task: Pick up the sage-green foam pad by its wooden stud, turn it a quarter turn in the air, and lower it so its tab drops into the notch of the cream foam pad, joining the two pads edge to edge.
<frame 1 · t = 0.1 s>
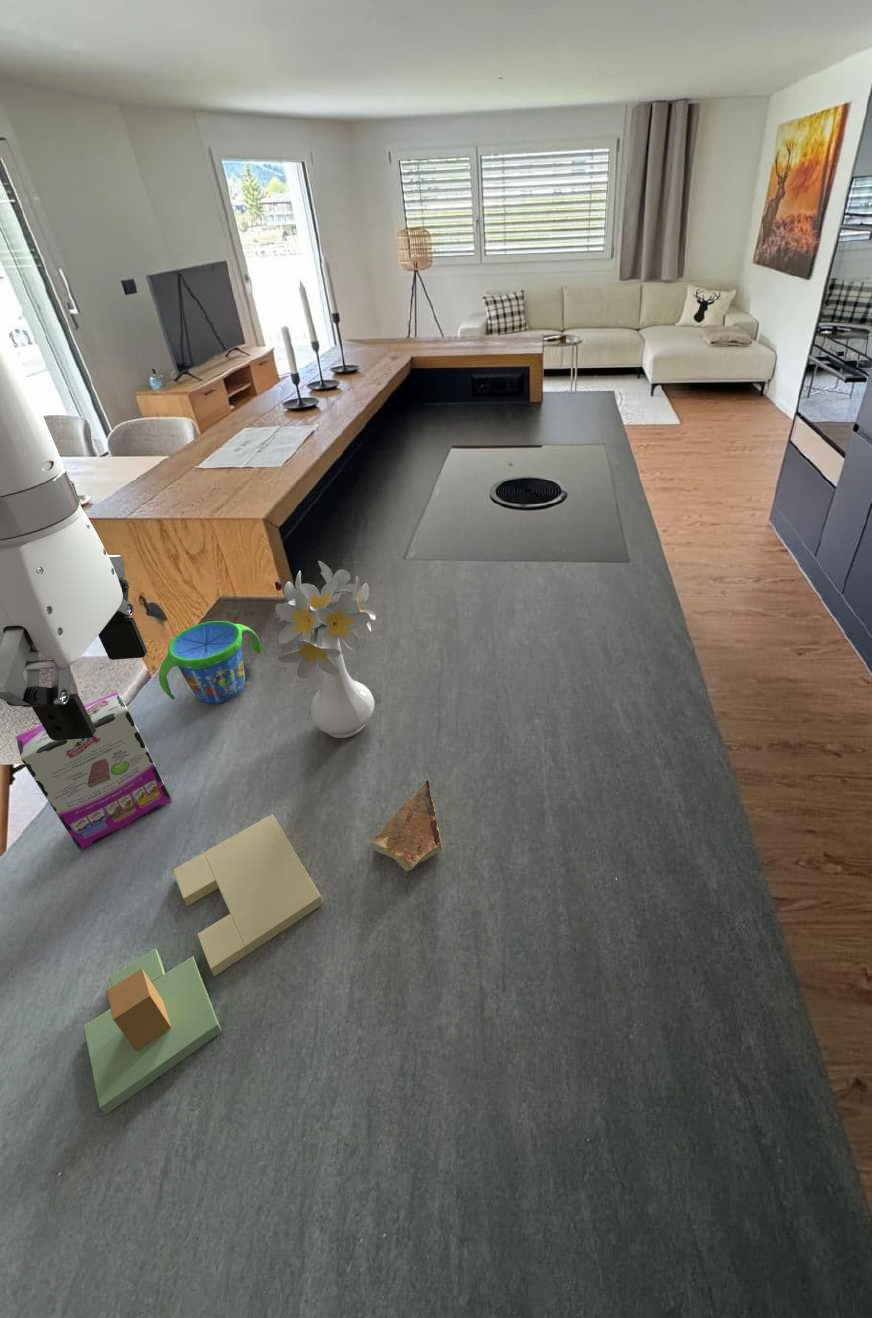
hand: (104, 693, 52), 32 cm above the counter, tool pointing down, fingers open, 9 cm apart
snack cup: (222, 690, 101), on the counter
cream pad: (248, 890, 71), on the counter
candy bar box: (123, 815, 81), on the counter
flower vase: (349, 727, 93), on the counter
shard: (406, 832, 77), on the counter
green pad: (155, 1032, 59), on the counter
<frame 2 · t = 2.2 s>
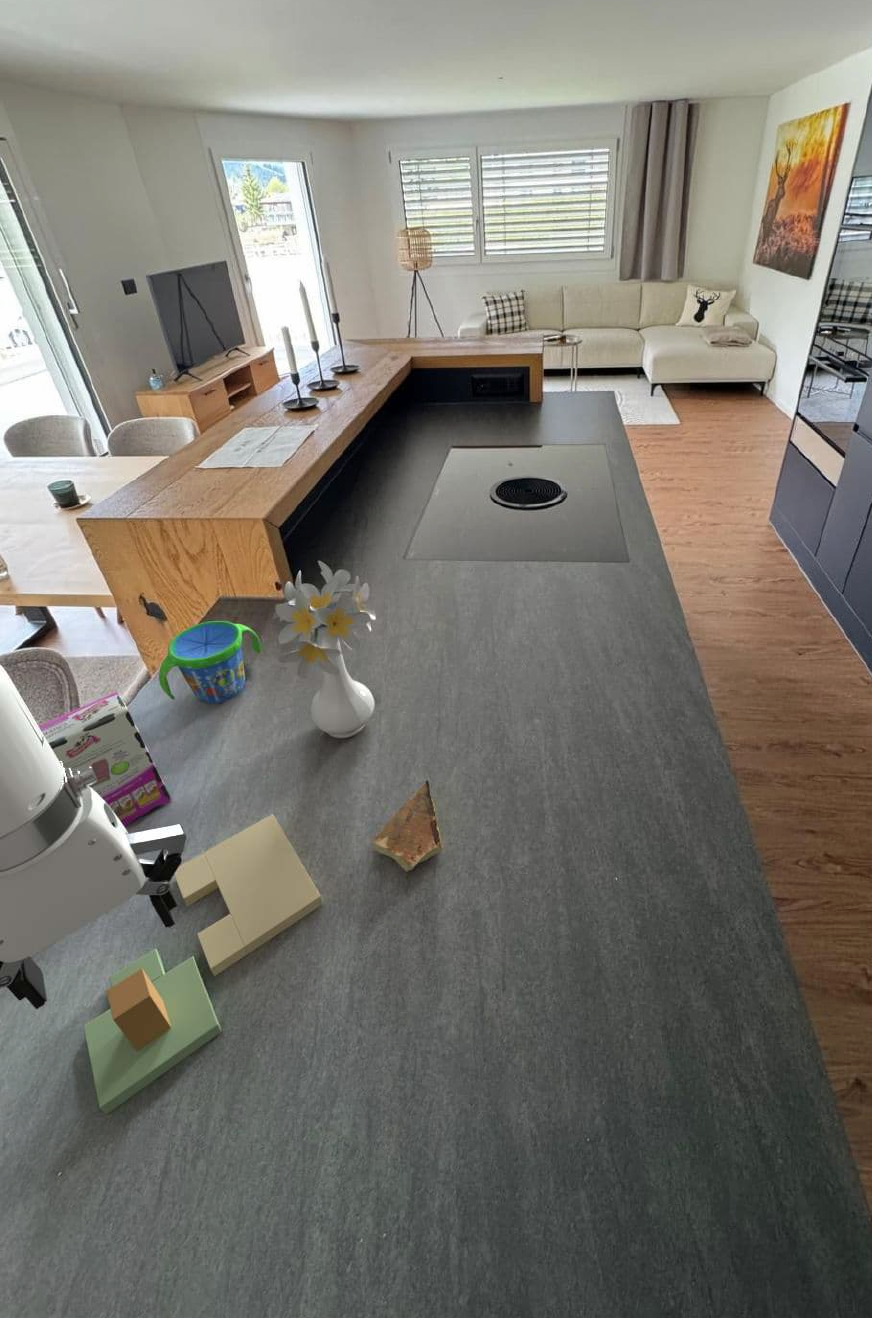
hand: (106, 950, 52), 14 cm above the counter, tool pointing down, fingers open, 9 cm apart
nothing on the counter moved.
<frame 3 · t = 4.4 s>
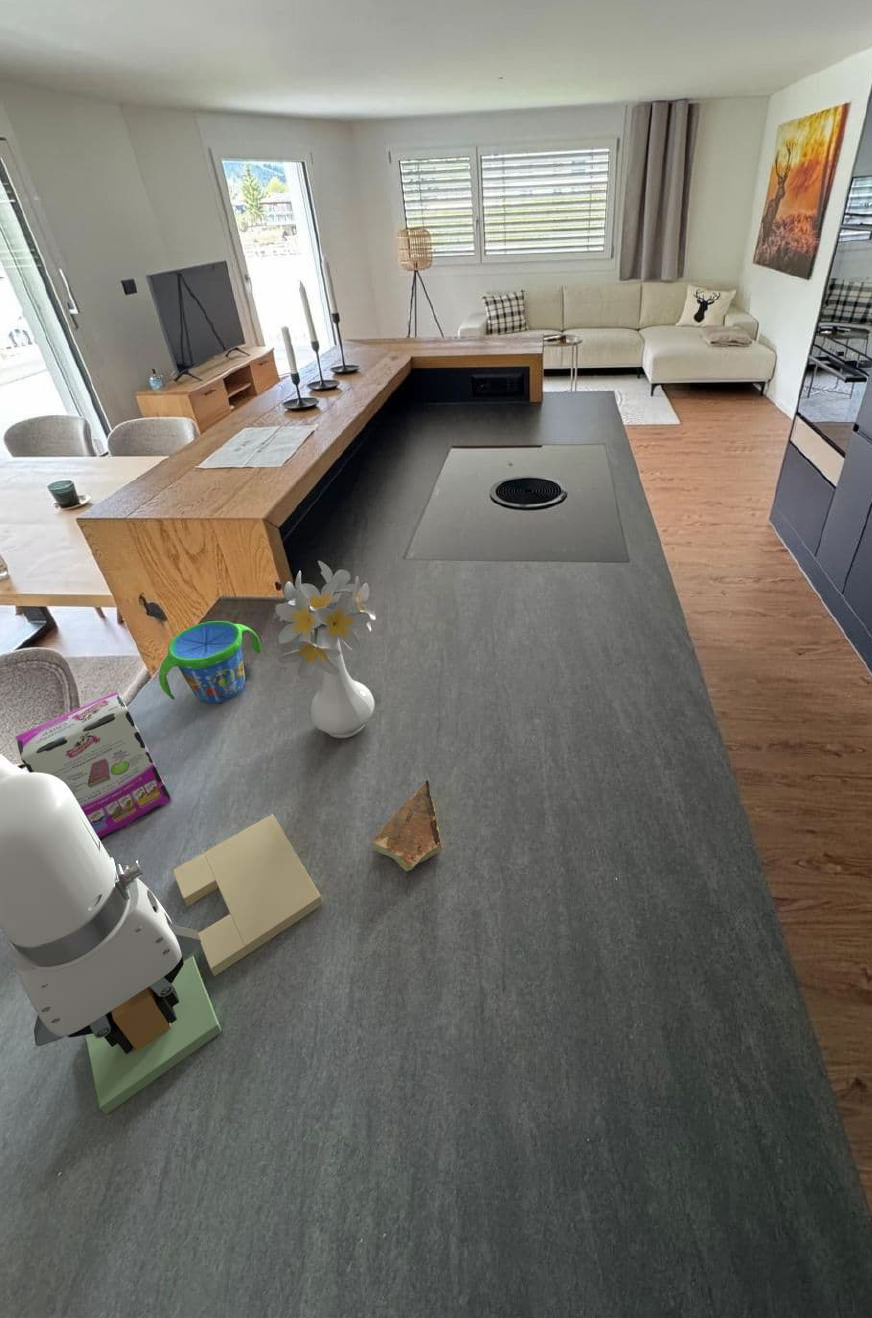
hand: (148, 1021, 58), 2 cm above the counter, tool pointing down, fingers closed on green pad, 3 cm apart
green pad: (155, 1032, 59), on the counter, touching gripper
everything else where it was.
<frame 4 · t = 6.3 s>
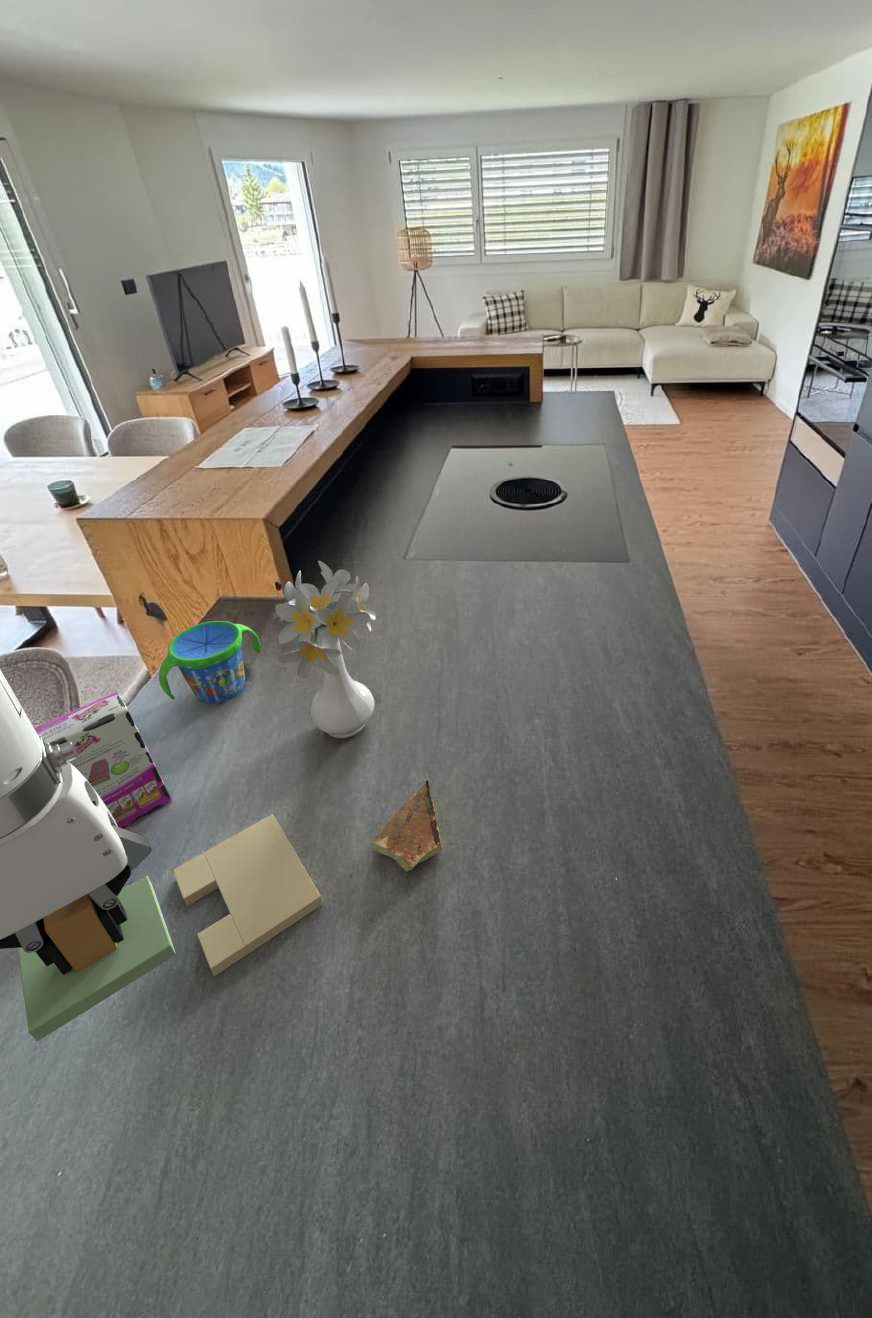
hand: (90, 941, 51), 16 cm above the counter, tool pointing down, fingers closed on green pad, 3 cm apart
green pad: (100, 955, 52), point 14 cm above the counter, touching gripper
everything else where it was.
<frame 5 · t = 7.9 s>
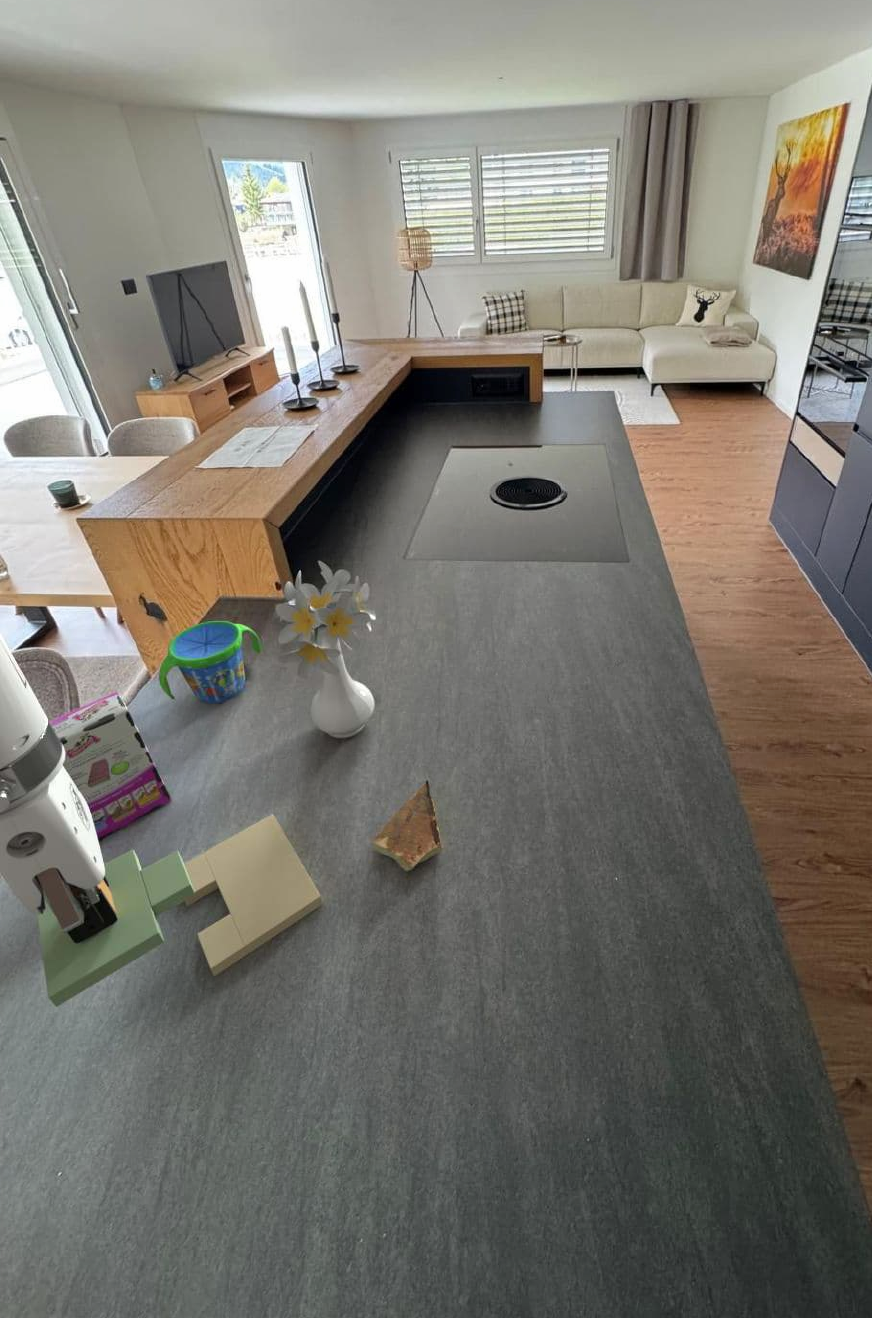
hand: (92, 911, 53), 16 cm above the counter, tool pointing down, fingers closed on green pad, 3 cm apart
green pad: (101, 925, 54), point 14 cm above the counter, touching gripper
everything else where it was.
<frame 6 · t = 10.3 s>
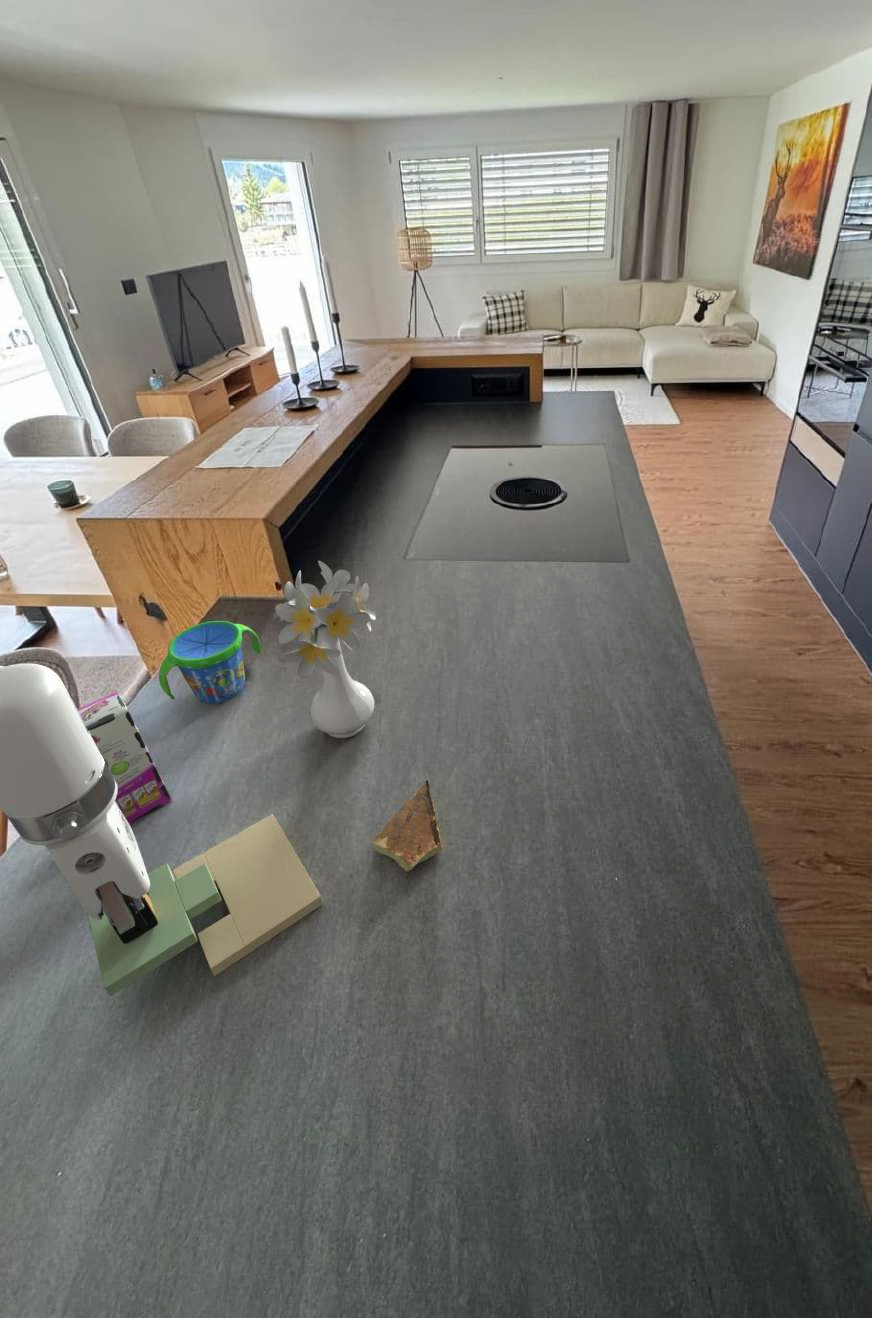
hand: (136, 916, 63), 6 cm above the counter, tool pointing down, fingers closed on green pad, 3 cm apart
green pad: (143, 928, 64), point 4 cm above the counter, touching gripper
everything else where it was.
when the fingers open (2 cm above the counter, at t = 11.7 s): green pad stays where it is, on the counter.
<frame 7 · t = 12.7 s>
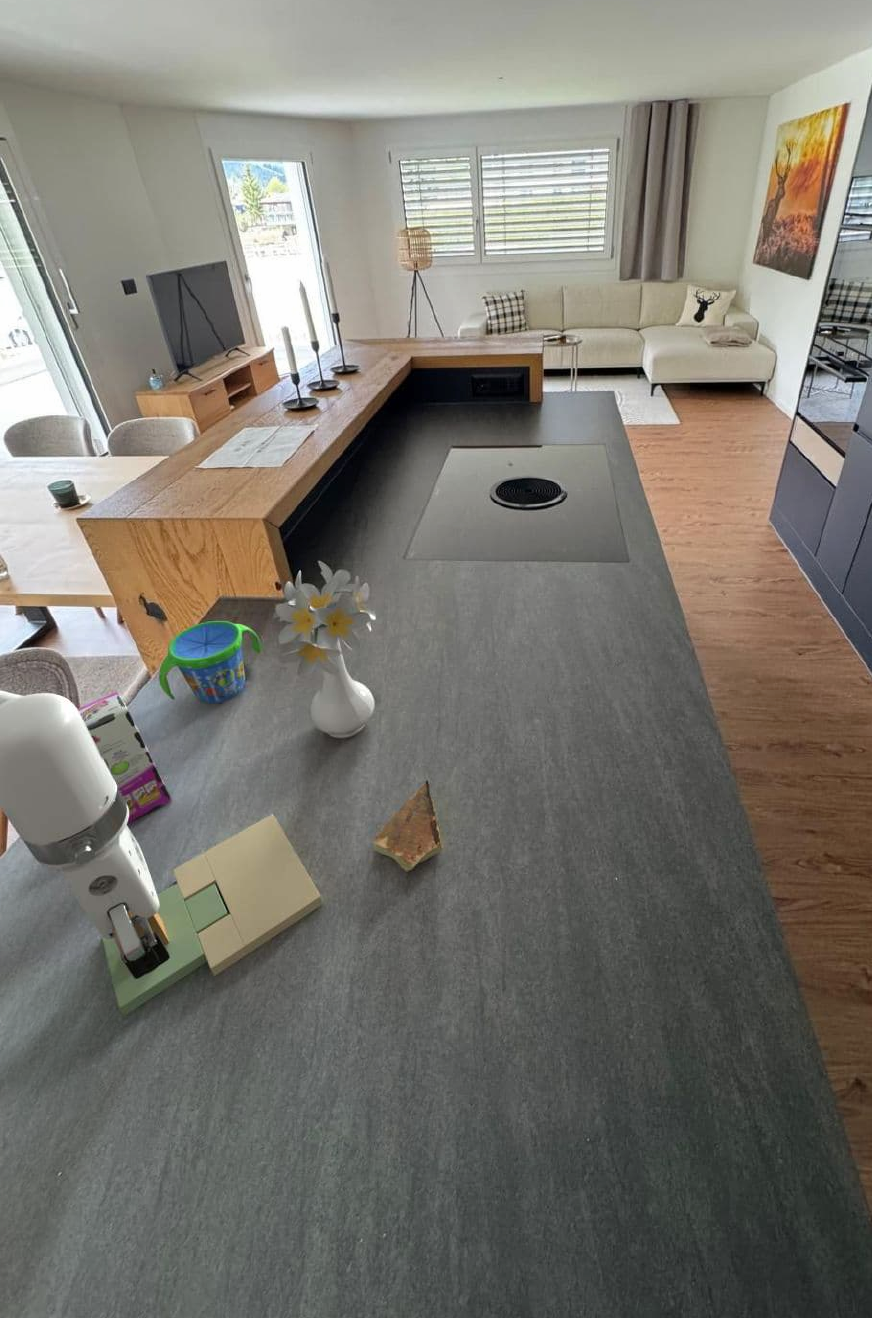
hand: (141, 927, 64), 4 cm above the counter, tool pointing down, fingers open, 9 cm apart
green pad: (155, 948, 66), on the counter
everything else where it was.
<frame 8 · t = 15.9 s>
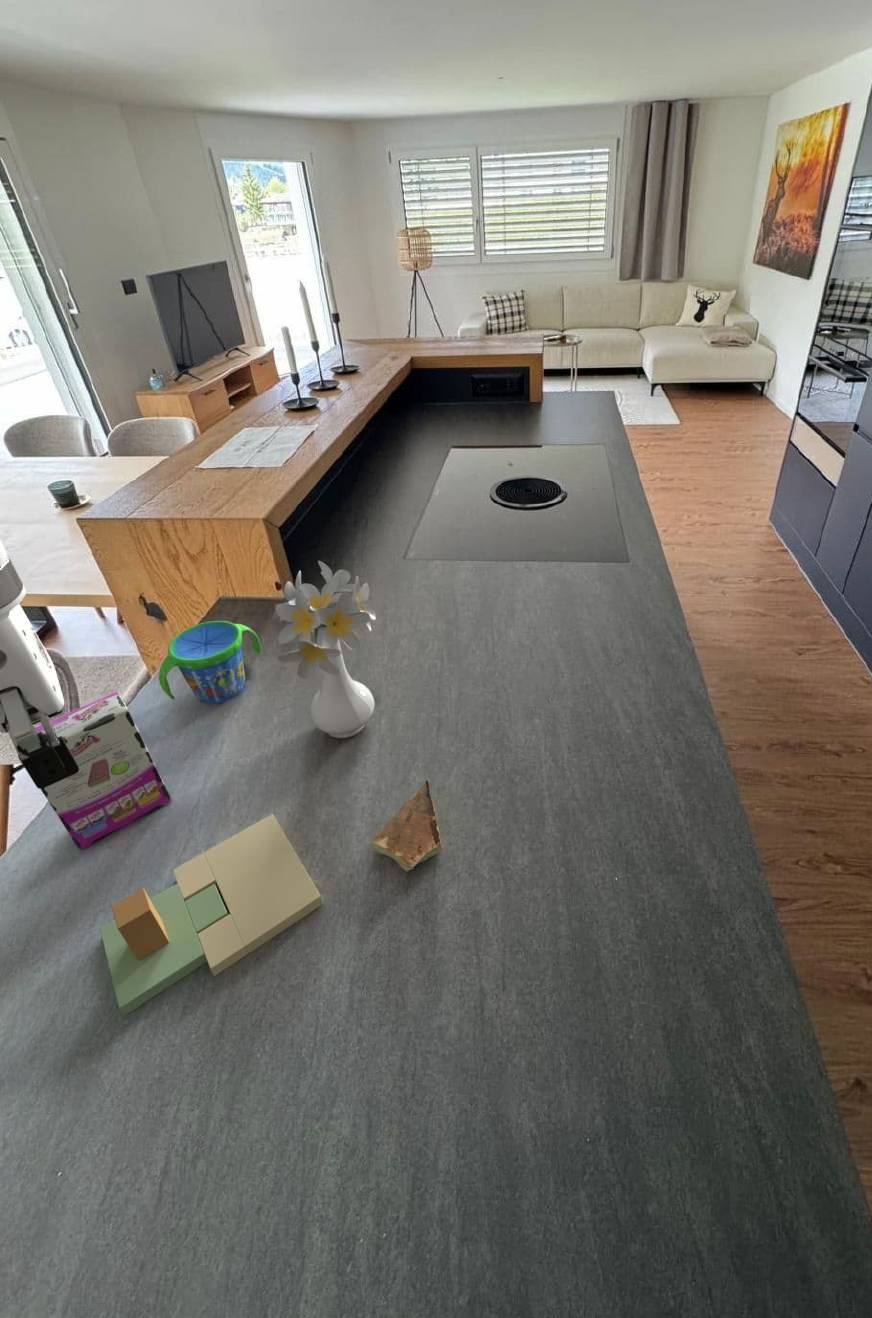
hand: (51, 746, 58), 24 cm above the counter, tool pointing down, fingers open, 9 cm apart
nothing on the counter moved.
at the end: green pad 0.1 cm from the target spot on the counter beside the cream pad, on the counter; green pad tilted 0°; the gripper is holding nothing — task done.
